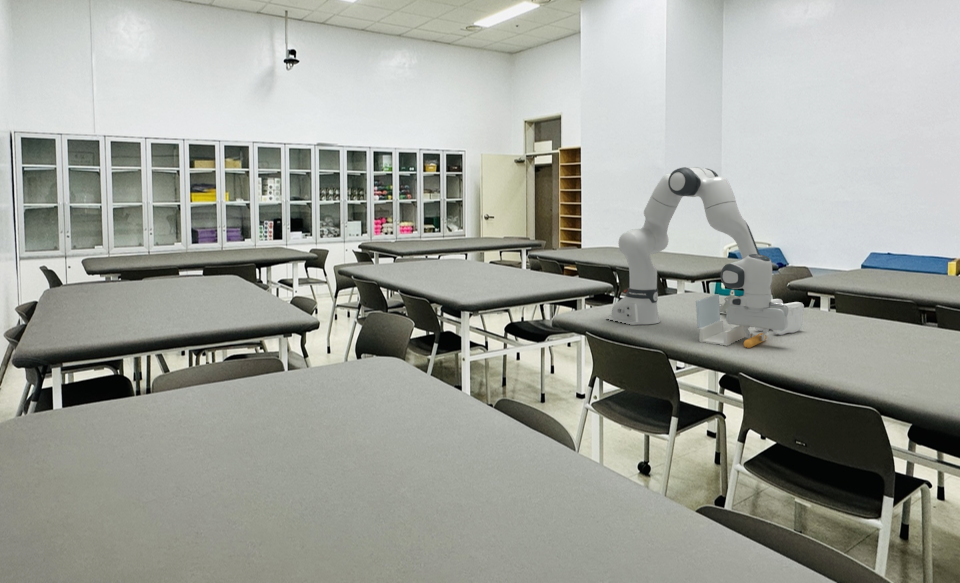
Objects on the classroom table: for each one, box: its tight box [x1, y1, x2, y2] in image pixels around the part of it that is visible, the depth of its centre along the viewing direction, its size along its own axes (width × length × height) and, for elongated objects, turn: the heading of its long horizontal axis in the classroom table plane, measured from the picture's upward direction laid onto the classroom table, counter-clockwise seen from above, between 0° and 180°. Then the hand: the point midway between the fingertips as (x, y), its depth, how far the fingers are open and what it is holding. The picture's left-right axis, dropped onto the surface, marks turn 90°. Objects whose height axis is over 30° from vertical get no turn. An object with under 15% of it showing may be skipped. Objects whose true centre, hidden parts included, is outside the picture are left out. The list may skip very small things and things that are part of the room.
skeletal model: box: [720, 289, 738, 315], centre depth 275 cm, size 16×9×25 cm
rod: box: [743, 332, 768, 349], centre depth 225 cm, size 3×16×3 cm, turn 136°
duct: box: [698, 319, 746, 347], centre depth 232 cm, size 10×18×5 cm, turn 137°
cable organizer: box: [754, 298, 805, 336], centre depth 242 cm, size 15×11×12 cm
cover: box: [695, 293, 721, 329], centre depth 235 cm, size 10×18×1 cm
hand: (755, 339), depth 225 cm, fingers closed on rod, 3 cm apart
